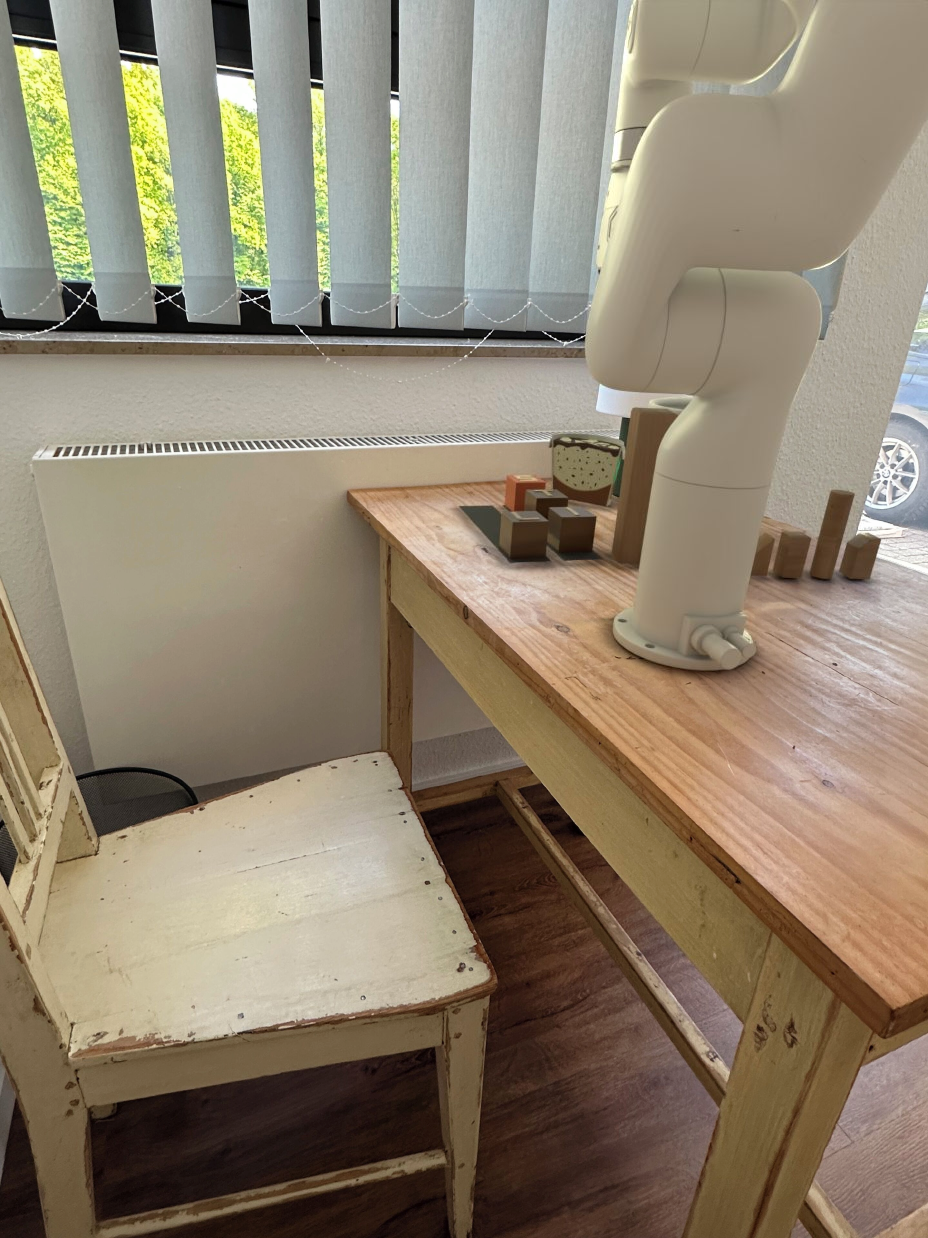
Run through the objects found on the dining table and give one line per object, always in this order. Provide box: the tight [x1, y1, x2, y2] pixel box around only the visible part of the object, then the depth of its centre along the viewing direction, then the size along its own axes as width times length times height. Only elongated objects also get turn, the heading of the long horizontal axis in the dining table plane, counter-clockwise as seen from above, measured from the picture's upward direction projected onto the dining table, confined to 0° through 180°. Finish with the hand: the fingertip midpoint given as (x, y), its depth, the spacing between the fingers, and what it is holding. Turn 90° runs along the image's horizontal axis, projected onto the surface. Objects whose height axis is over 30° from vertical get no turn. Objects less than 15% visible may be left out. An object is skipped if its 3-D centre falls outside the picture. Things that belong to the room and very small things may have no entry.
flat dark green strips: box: [458, 504, 604, 564], centre depth 96 cm, size 25×12×1 cm, turn 14°
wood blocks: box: [750, 489, 882, 580], centre depth 83 cm, size 25×3×10 cm, turn 95°
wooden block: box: [611, 406, 678, 565], centre depth 84 cm, size 9×4×18 cm, turn 90°
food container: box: [547, 432, 626, 508], centre depth 112 cm, size 12×6×10 cm, turn 58°
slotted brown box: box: [547, 506, 598, 553], centre depth 89 cm, size 4×4×5 cm
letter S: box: [504, 474, 547, 512], centre depth 105 cm, size 4×4×5 cm
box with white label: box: [499, 511, 549, 559], centre depth 86 cm, size 4×4×5 cm
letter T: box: [524, 488, 569, 520], centre depth 97 cm, size 4×4×5 cm
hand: (625, 326), depth 84 cm, fingers open, 9 cm apart
